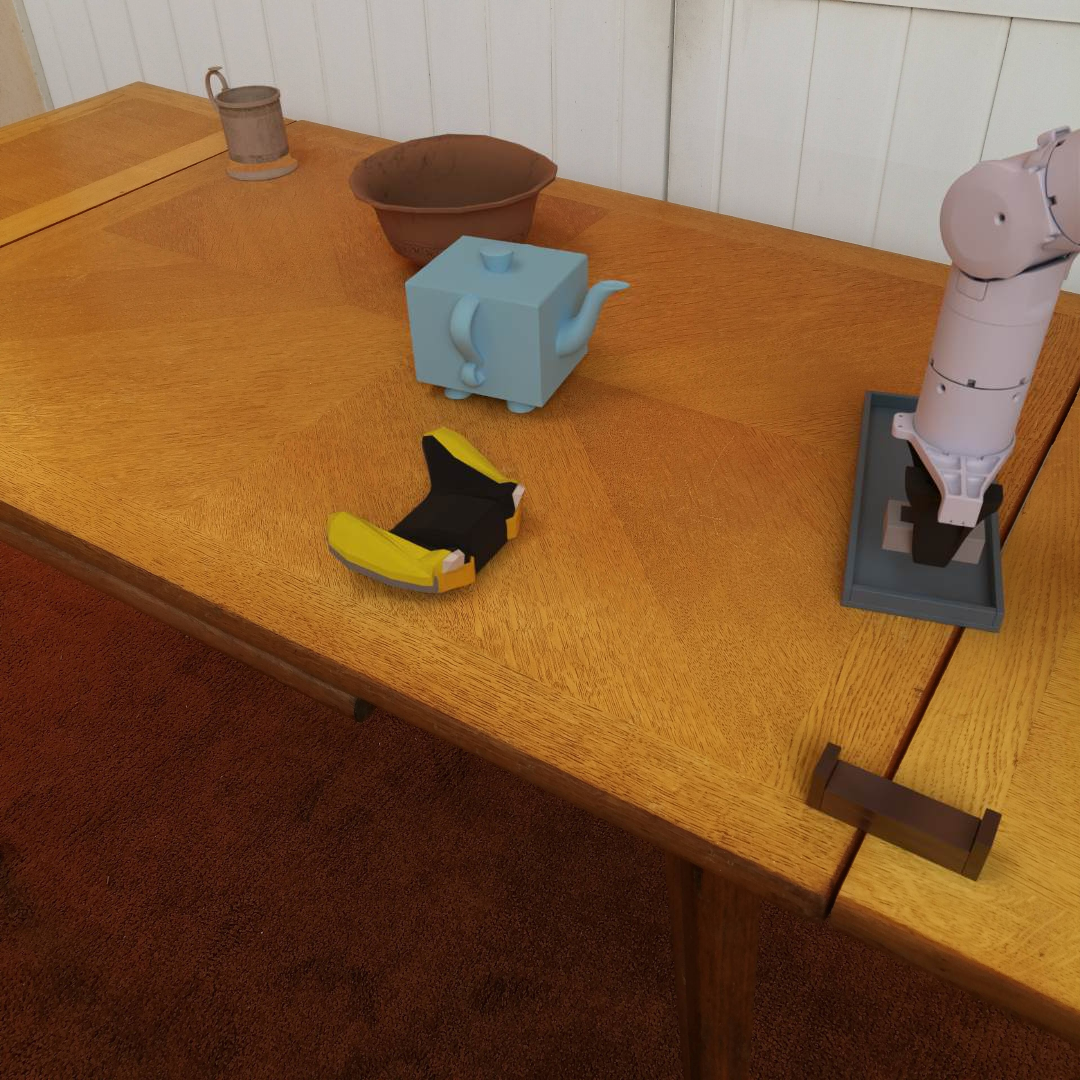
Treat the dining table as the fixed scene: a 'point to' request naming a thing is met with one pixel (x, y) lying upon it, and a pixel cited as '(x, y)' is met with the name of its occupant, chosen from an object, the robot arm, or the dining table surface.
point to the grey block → (901, 533)
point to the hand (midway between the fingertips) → (929, 545)
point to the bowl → (452, 191)
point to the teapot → (503, 319)
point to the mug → (251, 126)
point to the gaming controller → (436, 523)
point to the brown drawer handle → (902, 815)
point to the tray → (893, 575)
